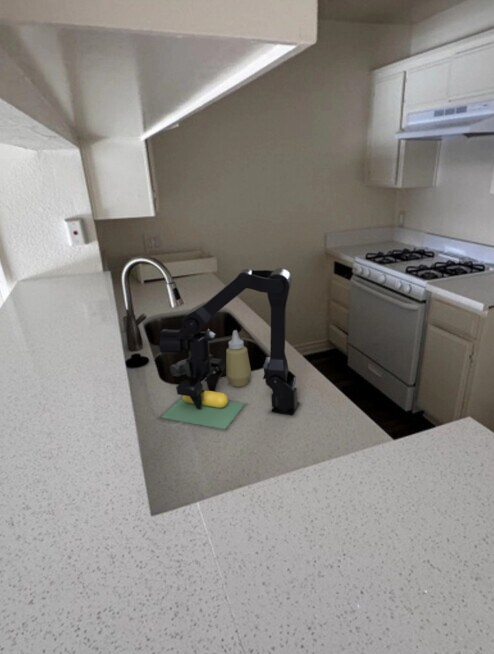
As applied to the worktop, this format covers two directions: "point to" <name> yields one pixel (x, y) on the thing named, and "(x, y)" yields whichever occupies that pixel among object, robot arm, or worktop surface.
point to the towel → (204, 414)
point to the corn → (211, 399)
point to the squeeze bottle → (237, 362)
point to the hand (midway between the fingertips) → (205, 401)
